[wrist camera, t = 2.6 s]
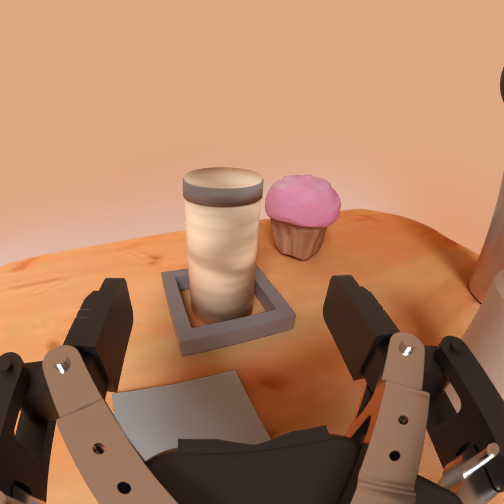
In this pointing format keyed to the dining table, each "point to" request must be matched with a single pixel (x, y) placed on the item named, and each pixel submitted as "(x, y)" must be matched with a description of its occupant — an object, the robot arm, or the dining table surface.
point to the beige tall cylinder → (222, 241)
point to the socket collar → (231, 330)
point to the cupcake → (301, 213)
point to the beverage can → (487, 338)
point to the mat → (188, 414)
